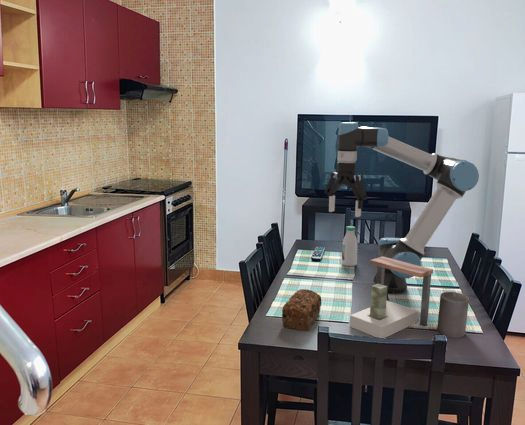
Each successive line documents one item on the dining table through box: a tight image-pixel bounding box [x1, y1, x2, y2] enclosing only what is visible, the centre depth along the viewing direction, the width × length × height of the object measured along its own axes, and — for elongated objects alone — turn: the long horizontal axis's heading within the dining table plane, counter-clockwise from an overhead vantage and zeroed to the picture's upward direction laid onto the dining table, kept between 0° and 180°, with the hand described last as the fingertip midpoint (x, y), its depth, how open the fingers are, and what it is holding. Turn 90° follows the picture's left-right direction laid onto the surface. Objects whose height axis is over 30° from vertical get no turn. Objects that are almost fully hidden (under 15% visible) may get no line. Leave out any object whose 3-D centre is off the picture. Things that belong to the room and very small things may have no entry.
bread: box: [281, 288, 322, 332], centre depth 193 cm, size 19×11×10 cm, turn 158°
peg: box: [369, 284, 388, 320], centre depth 186 cm, size 4×4×16 cm
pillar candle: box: [436, 291, 470, 339], centre depth 183 cm, size 10×10×15 cm
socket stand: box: [349, 256, 434, 339], centre depth 189 cm, size 24×22×22 cm
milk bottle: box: [341, 225, 358, 267], centre depth 264 cm, size 8×8×20 cm
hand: (344, 214), depth 208 cm, fingers open, 13 cm apart
